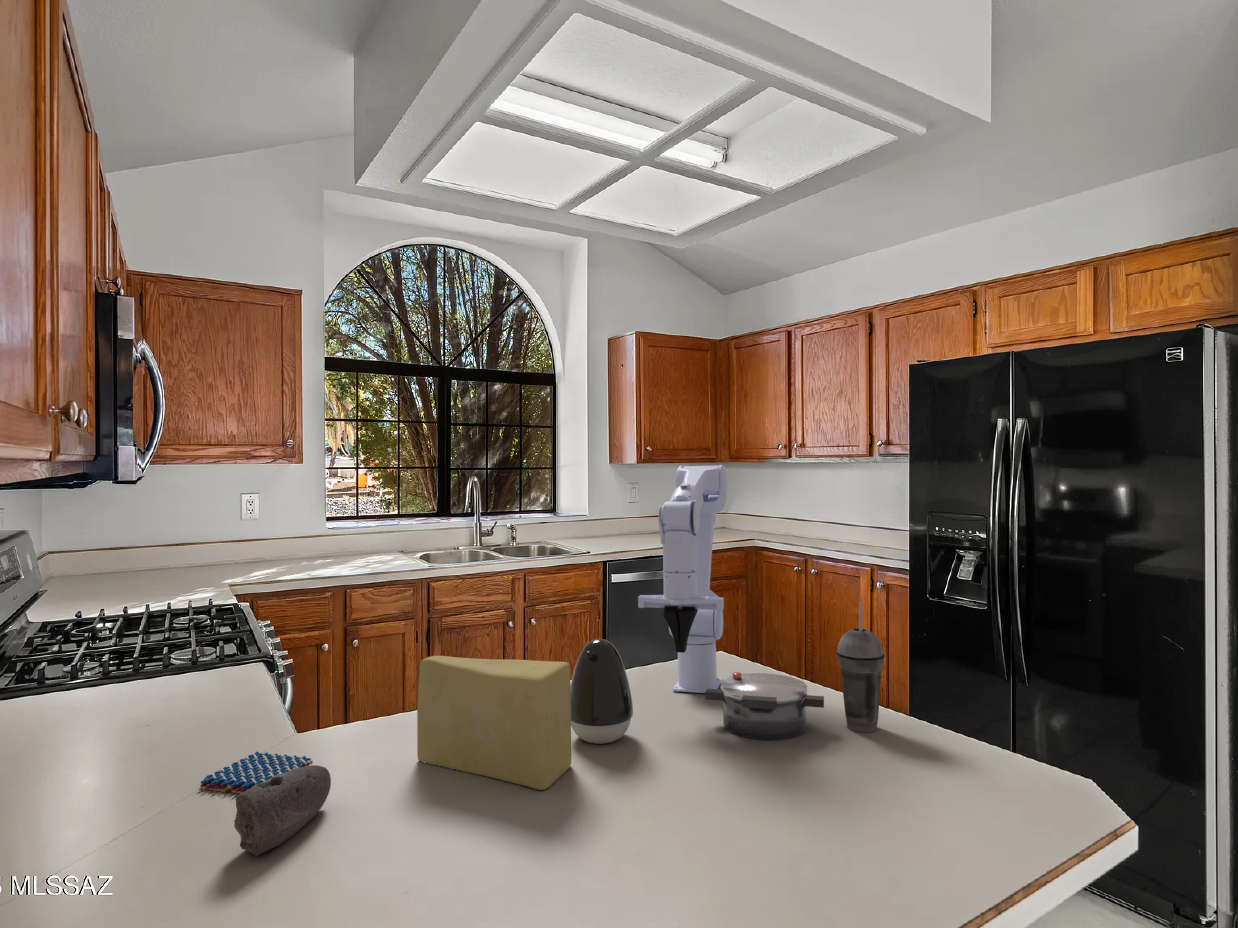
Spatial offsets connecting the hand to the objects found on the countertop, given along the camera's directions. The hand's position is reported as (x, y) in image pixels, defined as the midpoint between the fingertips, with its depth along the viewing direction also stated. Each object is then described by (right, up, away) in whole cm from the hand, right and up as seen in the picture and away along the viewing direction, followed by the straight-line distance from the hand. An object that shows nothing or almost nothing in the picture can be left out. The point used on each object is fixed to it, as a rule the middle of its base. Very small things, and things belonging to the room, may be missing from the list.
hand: (681, 651), depth 122 cm
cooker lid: (+12, -5, -8) cm, 15 cm away
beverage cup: (+28, -10, -9) cm, 31 cm away
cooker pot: (+13, -10, -7) cm, 18 cm away
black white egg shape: (-14, -11, -12) cm, 21 cm away
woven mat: (-60, -12, -25) cm, 66 cm away
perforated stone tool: (-49, -11, -40) cm, 64 cm away
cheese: (-29, -11, -23) cm, 38 cm away
